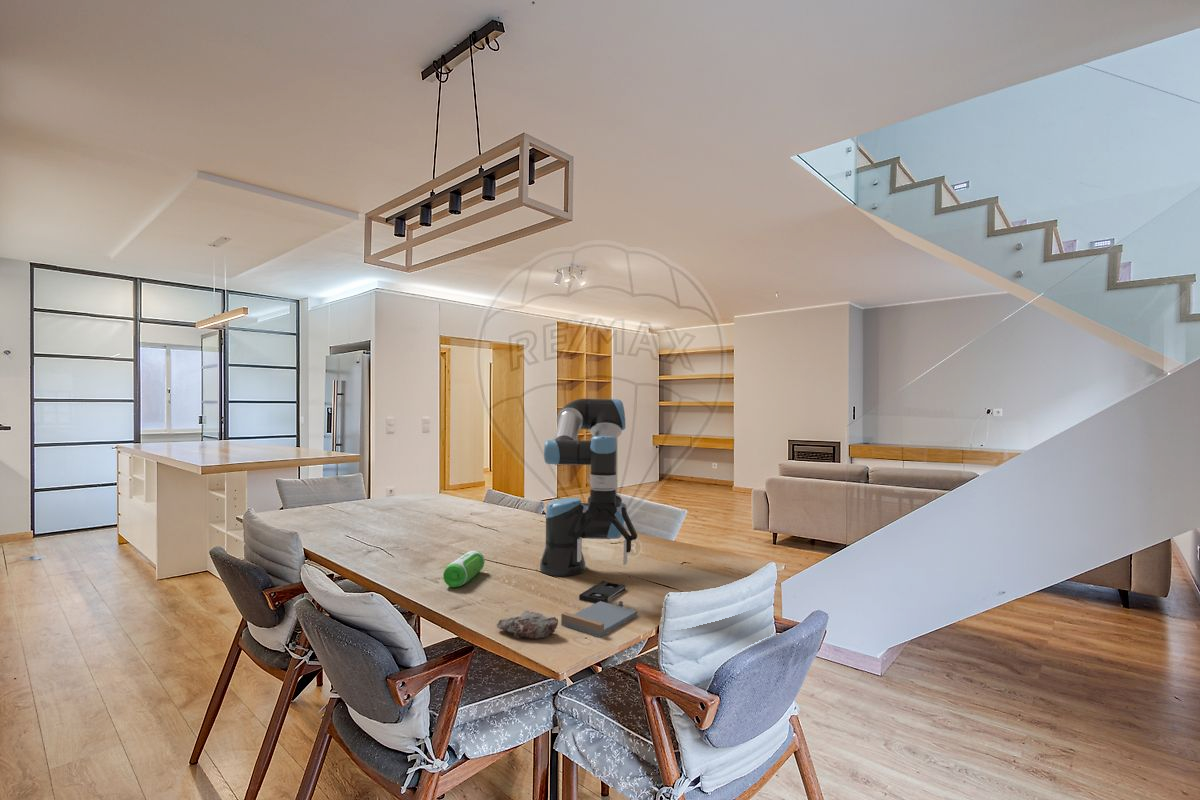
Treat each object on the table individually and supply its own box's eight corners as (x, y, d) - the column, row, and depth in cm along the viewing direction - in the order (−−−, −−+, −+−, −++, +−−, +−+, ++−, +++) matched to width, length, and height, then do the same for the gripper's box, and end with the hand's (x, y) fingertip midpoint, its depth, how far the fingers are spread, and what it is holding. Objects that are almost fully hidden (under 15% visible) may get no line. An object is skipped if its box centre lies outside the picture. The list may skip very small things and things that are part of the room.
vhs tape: (603, 606, 156) (604, 599, 156) (579, 601, 160) (579, 594, 160) (625, 591, 169) (625, 585, 169) (602, 587, 173) (602, 580, 173)
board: (561, 624, 142) (561, 613, 142) (603, 603, 157) (603, 593, 157) (600, 637, 135) (600, 625, 135) (640, 613, 150) (640, 603, 150)
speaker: (464, 590, 167) (464, 564, 167) (441, 588, 168) (441, 563, 168) (486, 572, 185) (486, 549, 185) (464, 571, 186) (465, 548, 186)
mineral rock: (492, 633, 136) (492, 615, 136) (513, 622, 143) (513, 605, 143) (542, 648, 129) (542, 628, 129) (561, 635, 136) (562, 617, 136)
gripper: (558, 489, 163) (557, 562, 163) (644, 492, 159) (643, 568, 158) (564, 485, 170) (563, 556, 170) (647, 488, 166) (646, 561, 166)
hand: (602, 562), depth 164 cm, fingers open, 13 cm apart
